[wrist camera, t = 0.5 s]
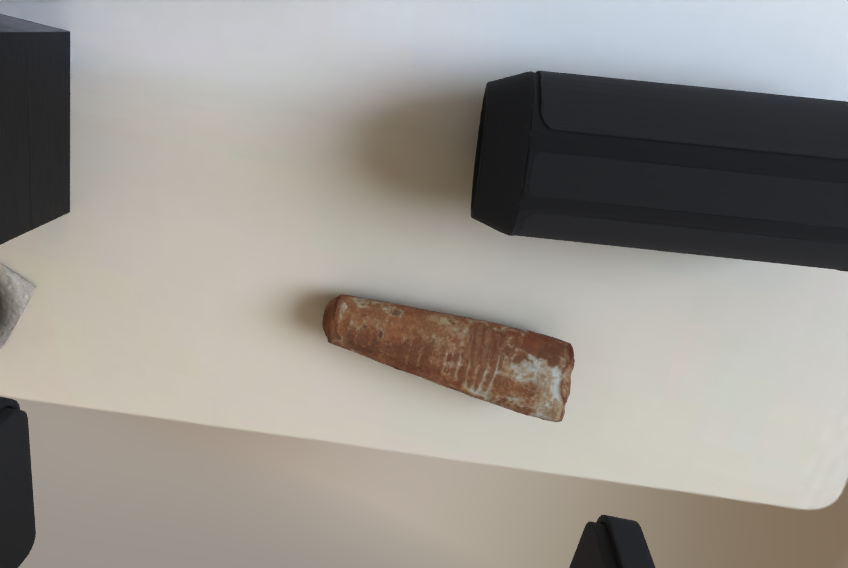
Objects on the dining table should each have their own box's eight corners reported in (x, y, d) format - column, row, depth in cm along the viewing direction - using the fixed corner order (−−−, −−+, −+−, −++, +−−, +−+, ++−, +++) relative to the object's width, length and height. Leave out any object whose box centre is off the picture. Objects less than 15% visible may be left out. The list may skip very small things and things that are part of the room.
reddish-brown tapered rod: (547, 396, 50) (556, 439, 45) (321, 331, 49) (304, 367, 44) (577, 331, 48) (590, 368, 42) (339, 261, 47) (323, 290, 41)
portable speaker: (468, 206, 44) (469, 254, 35) (486, 61, 40) (492, 71, 31) (825, 244, 44) (921, 302, 34) (878, 100, 40) (1002, 122, 31)
